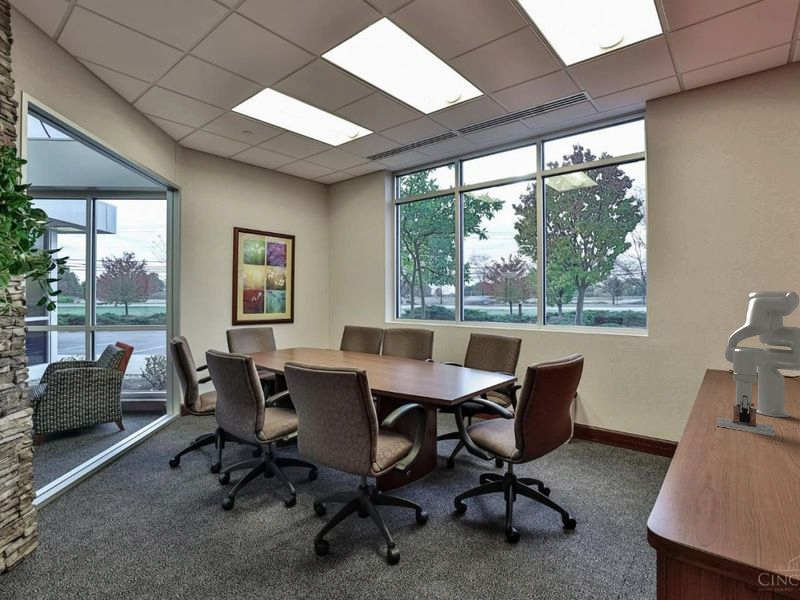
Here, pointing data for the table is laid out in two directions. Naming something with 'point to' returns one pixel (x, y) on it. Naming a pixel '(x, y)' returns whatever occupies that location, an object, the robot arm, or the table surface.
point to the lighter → (737, 415)
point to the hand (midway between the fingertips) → (744, 420)
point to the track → (746, 427)
